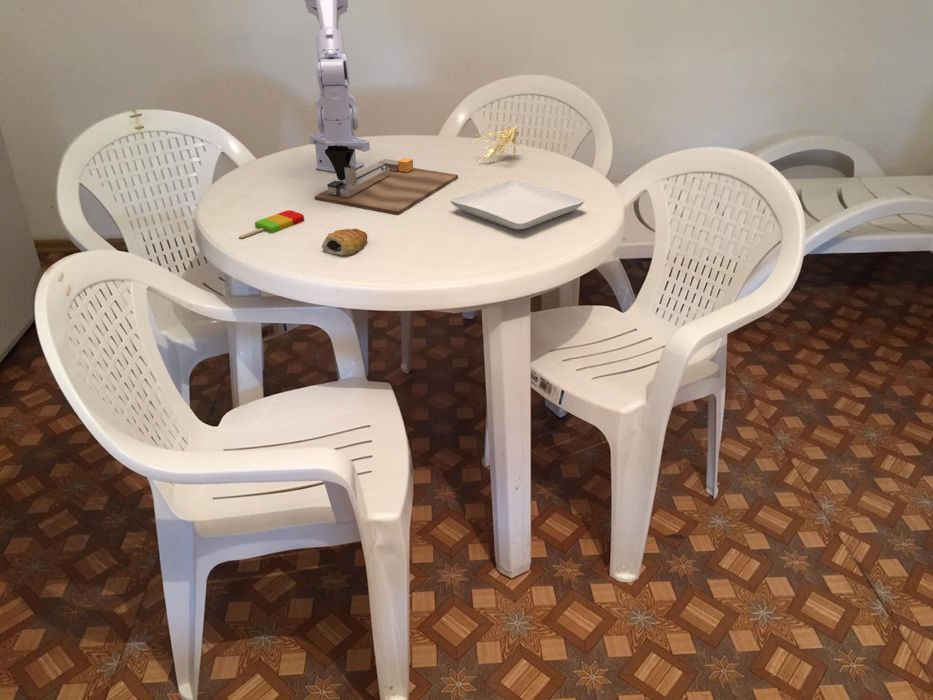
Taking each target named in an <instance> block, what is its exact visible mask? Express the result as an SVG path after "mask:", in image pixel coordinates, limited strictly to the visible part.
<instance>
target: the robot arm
mask: <svg viewBox="0 0 933 700" xmlns="http://www.w3.org/2000/svg"><path fill="white" fill-rule="evenodd" d="M303 1H304V3H305V7H306V9H307V13H308V14H311V15H313V16H315V18H316V19H317V22H318V23H319V24H318V25H319V31H317V33H316V36H315V37H316V38H315V40H316V52H317V55H316V56H317V61H316V62H315V63H316V64H315V67H316V79H317V84H318V88H319V93H320V95H319V96H318V97H317V98H316V101H315V107H316V108H315V111H316V112H315V114H316V122H317V130H318V133H312V134H309V137H308V138H309V145H314V148H315V158H316V166H315V170H321V171H325V172H326V171H328V172H333V173H335V175H336V178H337V181H343V180H345V170H344V167H346V166H348V165H354V166H355V168H356V170H357V169H359V168H362V167H363V166H364V163H361V162H357V158H356V156H357V155H356V150H358V151H361V152H363V153H365V152H368V151H370V150H371V146H370V140H366V139H362V138H359V137H356V136H355V135H354V134H355V132H356V131H357V130H358V129H359V119H358V106H357V102H356V101H357V100H356V98H355V96H354V95H352V94H351V93H349V86H350V73H349V72H350V71H349V64H348V61H347V60H348V59H347V56H346V53H345V44H344V43H345V41H344V36H343V33H342V32H341V31H340V30H339V21H340V17H341V16H342V15H343V14H346V13H347V12H348V8H349V0H303ZM346 82H347V85H346Z"/></svg>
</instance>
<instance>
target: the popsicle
mask: <svg viewBox="0 0 933 700" xmlns="http://www.w3.org/2000/svg"><path fill="white" fill-rule="evenodd" d="M303 222H305V216H304V214H303V213H301V212H297V211H295V210H291V209H289V210H284V211H281V212H279V213H276V214H273V215H271V216H268V217H264V218H262V219H259V220H256V221H255V222H254V227H255V228H256V229H255V230H252V231H250V232H247V233H244V234H241V235H239V236H238V238H239V239H245V238H247V237H250V236H252V235H256V234H258V233H260V232H267V233H270V234H275V233H277V232H280V231H282V230H285V229H287V228H290V227H293V226H296V225H298V224H302V223H303Z"/></svg>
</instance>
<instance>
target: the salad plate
mask: <svg viewBox="0 0 933 700" xmlns="http://www.w3.org/2000/svg"><path fill="white" fill-rule="evenodd" d="M450 203H451V204H452V205H453V206H454V207H456V208H457V209H459V210H461V211H463V212H465V213H468V214H471V215H473V216H476V217H478V218H481V219H483V220H486V221H489V222H492V223H494V224H498V225H500V226H502V227H505V228H508V229H509V228H510V229H512V228H513V230H525V229H526V228H527V229H528V228H532V227H535V226H537V224H538V225H540V224H543V223H545V222H548V221H550V220H552V218H553V219H555V218H557V217H560V216H562V215H565V214H568V213H571V212H573V211H575V210H577V209H579V208H580V207H581V206H582V205H583V204H584V203H586V201H585V199H582V198H579V197H577V196H573V195H570V194H567V193H565V192H561V191H558V190H555V189H552V188H548V187H546V186H541V185H538V184H535V183H532V182H531V183H530V182H527V181H524V180H520V179H516V178H513V179H510V180H506V181H502V182H499V183H496V184H492V185H490V186H486V187H482V188H480V189H477V190H474V191H471V192H467V193H465V194H461V195H458V196H456V197H452V198H450ZM547 220H548V221H547ZM542 222H543V223H542Z"/></svg>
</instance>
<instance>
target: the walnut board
mask: <svg viewBox="0 0 933 700" xmlns="http://www.w3.org/2000/svg"><path fill="white" fill-rule="evenodd" d="M457 179H459V175H458V174H455V173H448V172H441V171H435V170H430V169H429V170H428V169H421V168H417V167H416V168H415V167H413V169H412V170H410V171H408V172H403V171H399V170H398V171H392V170H390V175H389V176H387V177H385V178H383V179H381V180H380V181H378V182H376V183H374V184H372V185H370V186H369V187H367V188H365V189H363V190H361V191H359V192H358V193H356V194H354V195H352V196H350V197H344V196H340V194H338V195H333V194H328V189H326V190H323V191H322V192H320V193H318V194H316V195H314V196H313V197H314V200H315V201H320V202H326V203H330V204H331V203H332V204H336V205H341V206H348V207H353V208H357V209H358V208H359V209H364V210H369V211H374V212H379V213H385V214H389V215H396V216H399V215H401V214H402V213H404V212H406V211H407V210H410V208H412V207H414V206H415V205H417V204H419V203H420V202H423V200H425V199H427V198H428V197H430V196H431V195H433V194H435V193H436V192H438V191H440V190H442V189H443V188H445V187H446V186H448V185H450V184H451V183H453V182H454V181H457Z"/></svg>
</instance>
